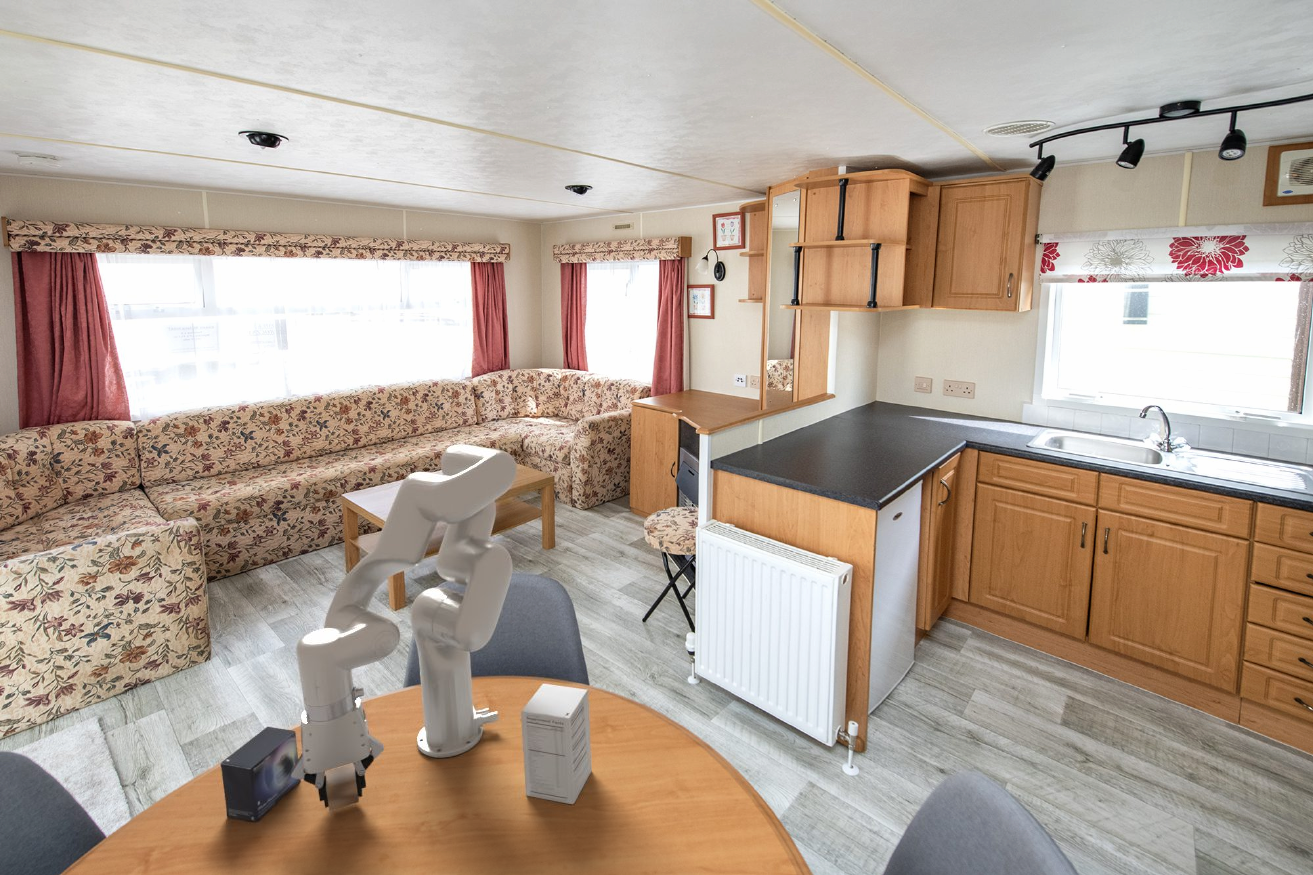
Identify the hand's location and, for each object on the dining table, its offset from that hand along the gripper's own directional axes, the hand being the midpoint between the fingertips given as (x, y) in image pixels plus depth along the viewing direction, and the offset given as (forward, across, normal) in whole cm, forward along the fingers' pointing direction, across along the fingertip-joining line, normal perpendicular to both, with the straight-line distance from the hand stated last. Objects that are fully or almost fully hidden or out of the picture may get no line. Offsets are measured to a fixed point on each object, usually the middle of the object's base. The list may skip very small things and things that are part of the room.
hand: (343, 795), depth 112 cm
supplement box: (+3, -35, +10) cm, 37 cm away
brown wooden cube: (0, 0, 0) cm, 0 cm away
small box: (+2, +13, -8) cm, 15 cm away
